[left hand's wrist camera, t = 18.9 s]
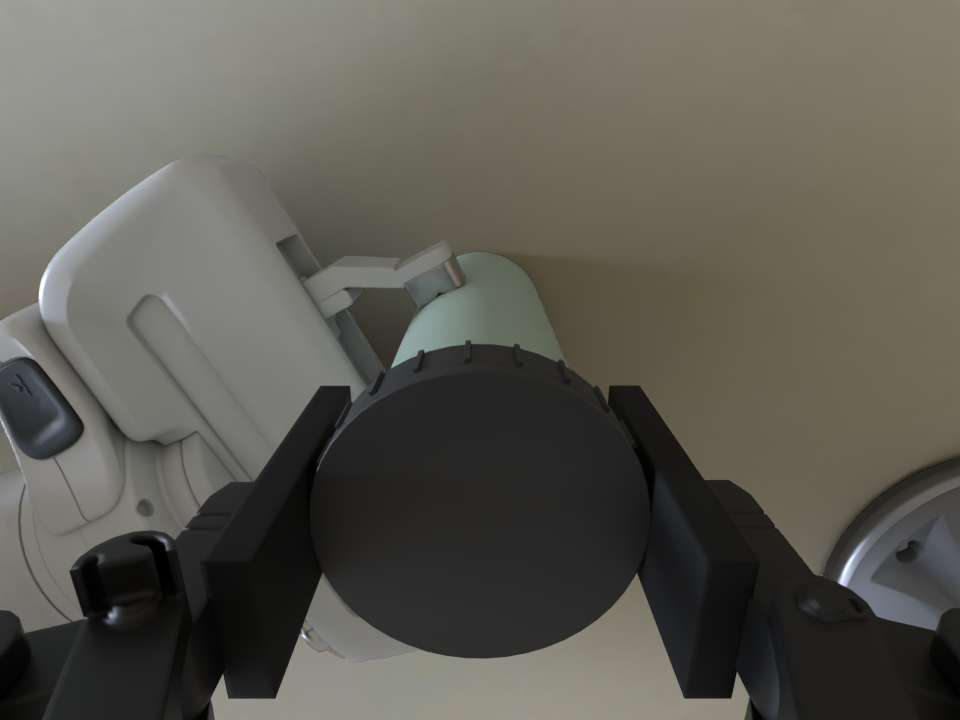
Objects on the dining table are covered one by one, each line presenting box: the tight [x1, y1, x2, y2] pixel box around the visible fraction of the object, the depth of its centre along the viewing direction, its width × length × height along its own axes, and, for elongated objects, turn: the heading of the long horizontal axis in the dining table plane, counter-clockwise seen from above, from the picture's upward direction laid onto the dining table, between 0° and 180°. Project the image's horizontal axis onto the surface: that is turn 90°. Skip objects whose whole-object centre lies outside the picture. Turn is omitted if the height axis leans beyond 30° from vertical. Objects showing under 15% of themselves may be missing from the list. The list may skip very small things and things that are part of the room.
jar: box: [391, 252, 569, 369], centre depth 19 cm, size 6×6×15 cm
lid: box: [309, 340, 651, 658], centre depth 12 cm, size 7×7×2 cm
